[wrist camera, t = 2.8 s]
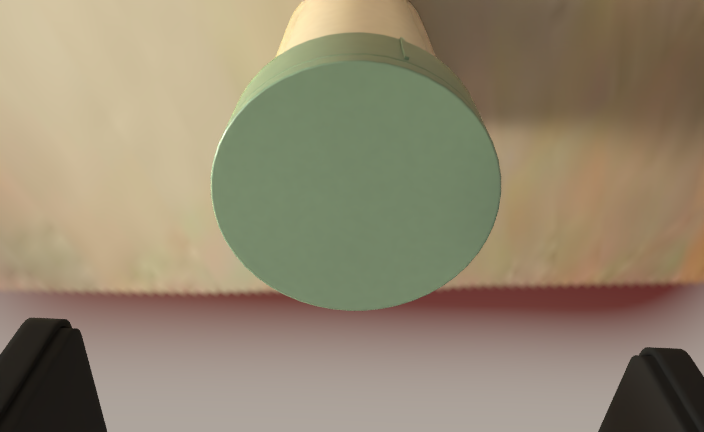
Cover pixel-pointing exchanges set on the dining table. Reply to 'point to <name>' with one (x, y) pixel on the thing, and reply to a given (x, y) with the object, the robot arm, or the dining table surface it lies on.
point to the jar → (355, 21)
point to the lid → (355, 173)
